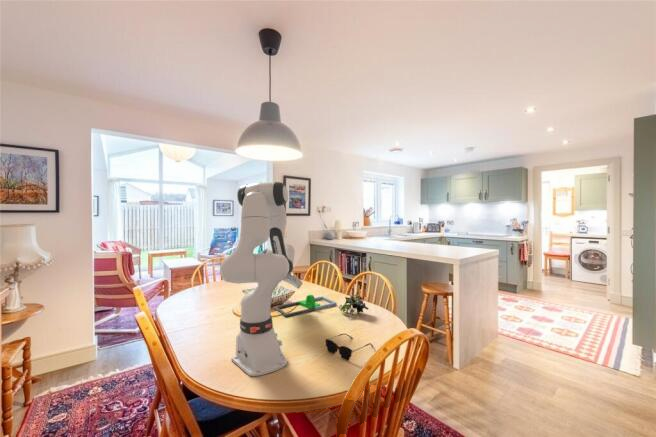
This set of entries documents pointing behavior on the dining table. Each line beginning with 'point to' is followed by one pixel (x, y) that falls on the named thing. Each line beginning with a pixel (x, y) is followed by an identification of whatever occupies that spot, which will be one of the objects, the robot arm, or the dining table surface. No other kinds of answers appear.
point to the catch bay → (325, 304)
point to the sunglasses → (340, 348)
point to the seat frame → (292, 312)
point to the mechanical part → (309, 302)
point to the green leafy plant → (353, 304)
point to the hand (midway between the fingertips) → (298, 287)
